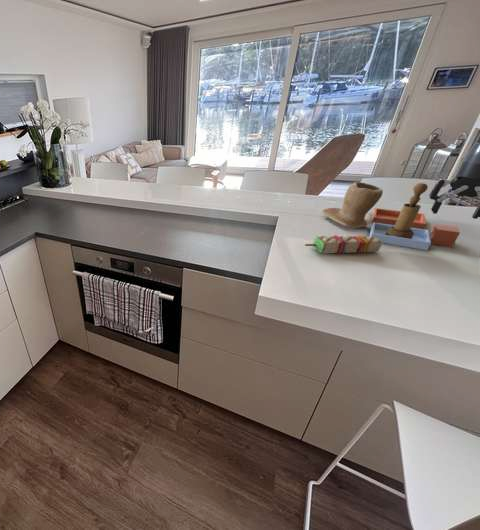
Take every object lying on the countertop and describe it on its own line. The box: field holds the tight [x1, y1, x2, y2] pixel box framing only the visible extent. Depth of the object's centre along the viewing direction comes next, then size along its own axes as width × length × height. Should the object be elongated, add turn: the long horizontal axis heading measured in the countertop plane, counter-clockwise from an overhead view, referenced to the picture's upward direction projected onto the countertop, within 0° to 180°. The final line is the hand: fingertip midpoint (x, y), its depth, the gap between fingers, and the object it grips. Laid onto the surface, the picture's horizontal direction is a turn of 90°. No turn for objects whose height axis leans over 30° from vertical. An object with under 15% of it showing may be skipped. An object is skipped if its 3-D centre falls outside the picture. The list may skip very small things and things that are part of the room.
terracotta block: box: [429, 223, 461, 248], centre depth 91 cm, size 5×5×5 cm
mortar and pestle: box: [385, 182, 429, 239], centre depth 91 cm, size 7×6×18 cm
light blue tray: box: [369, 222, 432, 251], centre depth 96 cm, size 14×11×3 cm
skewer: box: [304, 234, 383, 254], centre depth 91 cm, size 21×6×5 cm, turn 84°
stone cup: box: [321, 181, 384, 229], centre depth 107 cm, size 15×12×15 cm
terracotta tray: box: [371, 207, 427, 230], centre depth 107 cm, size 14×11×3 cm
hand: (453, 215), depth 88 cm, fingers open, 8 cm apart
